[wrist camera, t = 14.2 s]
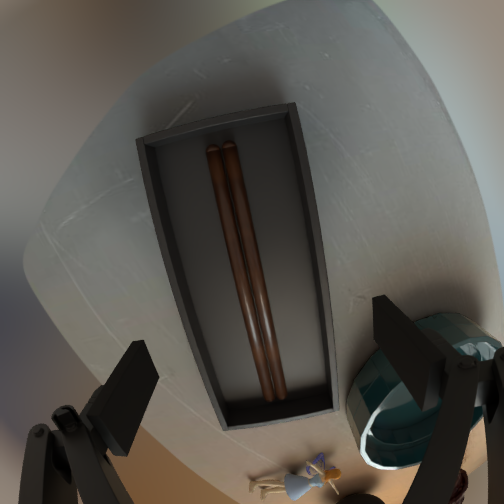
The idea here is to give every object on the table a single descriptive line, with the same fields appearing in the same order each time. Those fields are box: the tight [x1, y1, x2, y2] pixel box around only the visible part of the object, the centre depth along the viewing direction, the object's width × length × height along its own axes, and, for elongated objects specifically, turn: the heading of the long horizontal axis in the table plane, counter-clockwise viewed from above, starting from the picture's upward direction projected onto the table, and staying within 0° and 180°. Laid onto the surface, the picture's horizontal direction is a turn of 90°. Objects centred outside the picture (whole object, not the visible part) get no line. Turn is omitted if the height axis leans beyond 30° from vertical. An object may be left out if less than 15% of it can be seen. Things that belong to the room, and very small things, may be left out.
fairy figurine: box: [249, 453, 341, 501], centre depth 30 cm, size 12×5×12 cm
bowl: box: [347, 313, 503, 470], centre depth 25 cm, size 18×18×6 cm
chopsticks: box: [205, 140, 288, 402], centre depth 24 cm, size 23×2×1 cm, turn 12°
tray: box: [136, 102, 339, 431], centre depth 23 cm, size 11×26×3 cm, turn 12°
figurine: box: [448, 469, 468, 504], centre depth 31 cm, size 10×10×18 cm
